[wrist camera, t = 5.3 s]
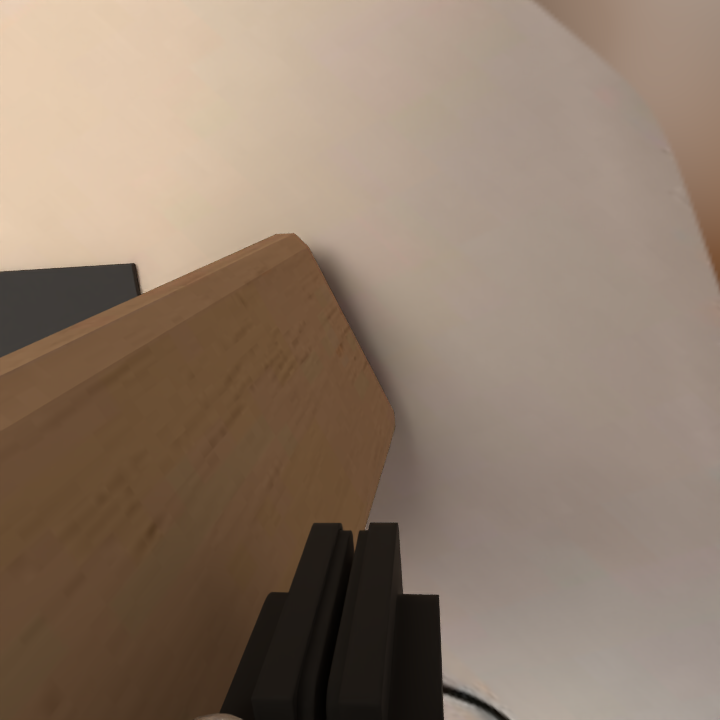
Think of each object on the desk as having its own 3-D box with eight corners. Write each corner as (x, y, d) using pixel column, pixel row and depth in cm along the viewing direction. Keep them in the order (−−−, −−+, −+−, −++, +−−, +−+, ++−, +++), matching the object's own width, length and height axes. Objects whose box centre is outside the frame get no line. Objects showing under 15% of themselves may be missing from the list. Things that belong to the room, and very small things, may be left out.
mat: (-126, 279, 27) (-131, 280, 27) (134, 263, 25) (131, 263, 25) (-57, 490, 31) (-62, 493, 30) (176, 489, 29) (174, 492, 28)
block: (129, 313, 26) (-713, 722, 8) (303, 220, 22) (-464, 556, 4) (235, 481, 28) (-209, 1093, 10) (406, 420, 25) (205, 1178, 7)
